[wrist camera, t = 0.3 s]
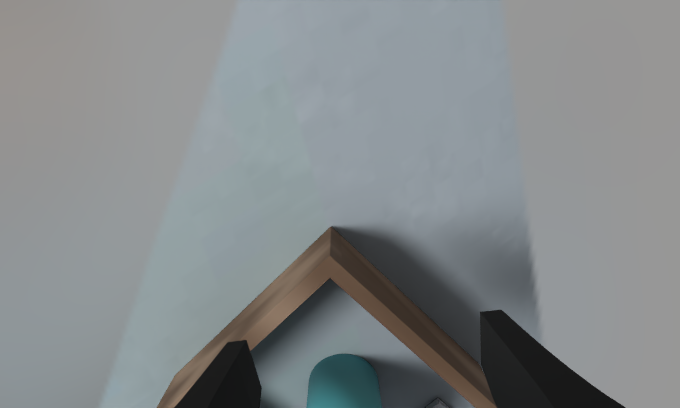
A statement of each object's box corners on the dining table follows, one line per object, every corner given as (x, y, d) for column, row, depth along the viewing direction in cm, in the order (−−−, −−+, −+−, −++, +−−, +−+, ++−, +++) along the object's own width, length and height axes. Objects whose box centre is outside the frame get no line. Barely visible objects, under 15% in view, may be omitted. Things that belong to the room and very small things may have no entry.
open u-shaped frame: (323, 485, 27) (320, 550, 23) (174, 375, 25) (144, 428, 21) (479, 364, 25) (505, 415, 21) (331, 226, 22) (329, 255, 18)
